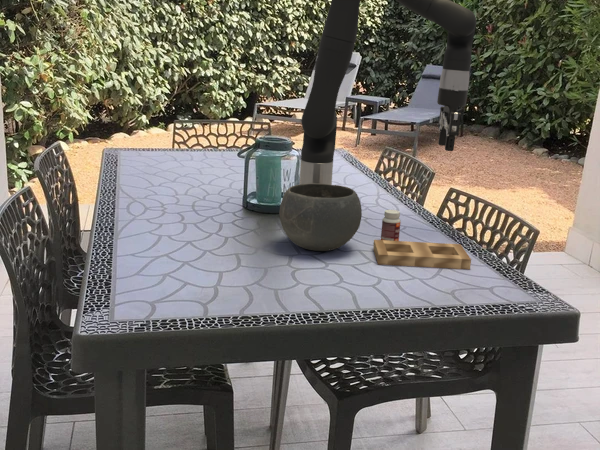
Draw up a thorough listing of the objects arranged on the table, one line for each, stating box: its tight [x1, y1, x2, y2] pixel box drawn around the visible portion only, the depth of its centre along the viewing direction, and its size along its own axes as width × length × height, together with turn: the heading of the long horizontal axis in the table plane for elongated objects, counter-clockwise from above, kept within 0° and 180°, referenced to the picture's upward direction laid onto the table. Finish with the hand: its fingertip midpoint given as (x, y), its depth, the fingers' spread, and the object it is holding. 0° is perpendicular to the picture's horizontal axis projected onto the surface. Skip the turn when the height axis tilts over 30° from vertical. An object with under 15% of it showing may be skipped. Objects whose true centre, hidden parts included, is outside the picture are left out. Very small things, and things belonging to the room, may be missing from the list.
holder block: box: [372, 239, 472, 270], centre depth 170 cm, size 22×12×2 cm, turn 89°
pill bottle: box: [380, 209, 402, 241], centre depth 182 cm, size 5×5×8 cm
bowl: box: [278, 183, 363, 252], centre depth 173 cm, size 20×20×15 cm
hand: (445, 147), depth 188 cm, fingers open, 8 cm apart
